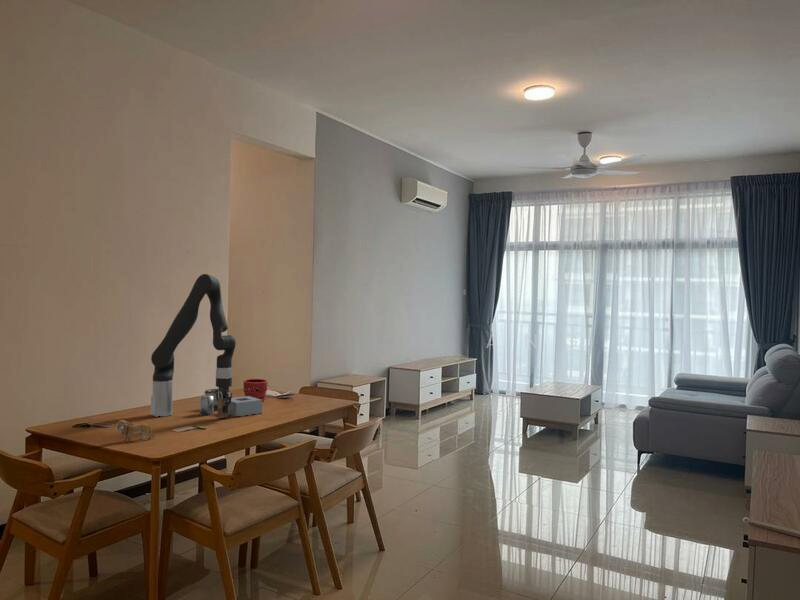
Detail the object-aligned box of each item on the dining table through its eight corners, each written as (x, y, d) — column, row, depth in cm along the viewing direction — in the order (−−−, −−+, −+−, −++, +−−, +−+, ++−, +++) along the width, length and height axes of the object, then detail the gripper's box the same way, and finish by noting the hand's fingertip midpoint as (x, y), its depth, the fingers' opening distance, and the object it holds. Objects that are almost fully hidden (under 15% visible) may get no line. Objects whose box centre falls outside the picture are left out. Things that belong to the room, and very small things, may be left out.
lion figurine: (118, 444, 240) (118, 421, 240) (114, 441, 244) (115, 419, 244) (156, 439, 249) (156, 417, 249) (152, 436, 253) (152, 415, 253)
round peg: (203, 416, 297) (203, 397, 296) (197, 413, 301) (197, 396, 301) (215, 414, 301) (216, 396, 301) (210, 412, 306) (210, 394, 306)
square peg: (221, 417, 288) (221, 399, 288) (217, 416, 291) (217, 397, 291) (228, 416, 291) (229, 398, 291) (225, 415, 294) (225, 397, 294)
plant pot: (240, 403, 331) (241, 381, 331) (246, 399, 344) (246, 378, 344) (264, 403, 332) (265, 382, 331) (269, 399, 345) (269, 378, 345)
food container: (231, 407, 319) (231, 388, 319) (226, 409, 313) (227, 390, 313) (209, 406, 320) (209, 388, 320) (204, 409, 314) (204, 389, 314)
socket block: (236, 417, 295) (236, 402, 295) (223, 412, 305) (223, 398, 305) (261, 413, 304) (262, 399, 304) (248, 409, 314) (248, 396, 314)
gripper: (210, 375, 294) (209, 410, 294) (222, 379, 283) (222, 415, 283) (224, 374, 299) (224, 409, 299) (237, 377, 288) (237, 413, 288)
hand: (223, 411), depth 291 cm, fingers closed on square peg, 4 cm apart
